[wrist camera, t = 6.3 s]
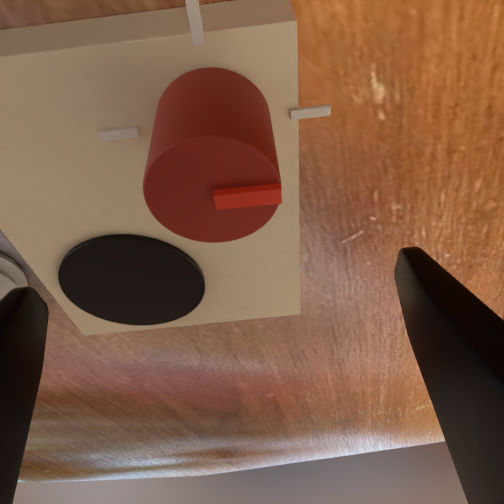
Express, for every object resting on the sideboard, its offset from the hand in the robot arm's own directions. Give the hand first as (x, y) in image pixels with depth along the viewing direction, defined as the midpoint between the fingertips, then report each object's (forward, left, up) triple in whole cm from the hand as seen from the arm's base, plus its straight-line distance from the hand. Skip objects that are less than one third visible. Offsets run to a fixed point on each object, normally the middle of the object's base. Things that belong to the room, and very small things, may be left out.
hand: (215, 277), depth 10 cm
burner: (+8, -6, -7) cm, 12 cm away
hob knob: (0, 0, -7) cm, 7 cm away
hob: (+5, -4, -9) cm, 11 cm away
